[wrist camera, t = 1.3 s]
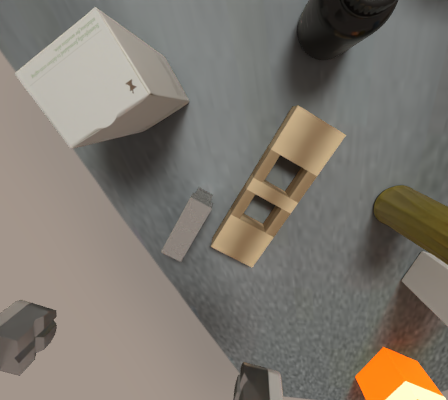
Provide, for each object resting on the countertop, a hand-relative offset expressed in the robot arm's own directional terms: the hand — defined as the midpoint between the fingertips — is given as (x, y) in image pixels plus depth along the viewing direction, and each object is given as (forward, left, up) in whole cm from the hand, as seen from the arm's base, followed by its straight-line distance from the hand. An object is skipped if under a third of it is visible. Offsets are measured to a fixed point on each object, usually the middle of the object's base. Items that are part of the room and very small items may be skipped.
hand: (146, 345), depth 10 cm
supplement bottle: (+3, +23, -27) cm, 36 cm away
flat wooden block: (+8, +3, -27) cm, 28 cm away
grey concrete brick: (0, -6, -27) cm, 27 cm away
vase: (+25, +10, -27) cm, 38 cm away
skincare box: (-12, +6, -27) cm, 30 cm away
